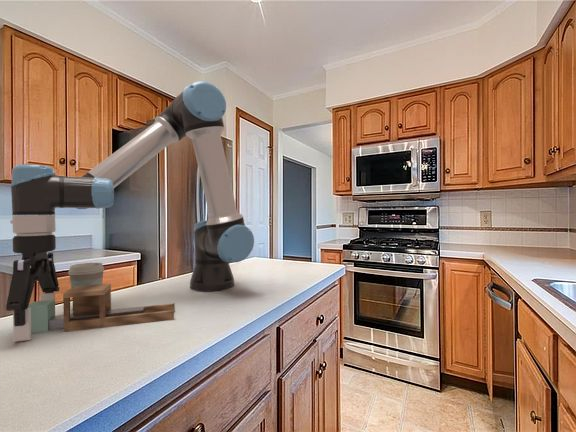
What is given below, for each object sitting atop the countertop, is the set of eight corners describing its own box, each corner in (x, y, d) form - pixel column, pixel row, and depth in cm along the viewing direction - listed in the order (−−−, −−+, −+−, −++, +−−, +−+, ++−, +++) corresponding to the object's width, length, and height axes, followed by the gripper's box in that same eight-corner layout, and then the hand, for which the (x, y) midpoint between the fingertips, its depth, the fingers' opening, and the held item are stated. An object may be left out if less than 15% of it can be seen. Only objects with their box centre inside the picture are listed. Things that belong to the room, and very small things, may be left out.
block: (55, 325, 74) (54, 299, 74) (47, 331, 70) (47, 304, 70) (33, 327, 73) (33, 301, 72) (25, 334, 69) (24, 306, 68)
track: (174, 310, 84) (174, 279, 83) (174, 319, 77) (173, 284, 77) (74, 321, 76) (73, 286, 76) (63, 331, 70) (63, 293, 70)
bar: (144, 317, 80) (144, 306, 80) (143, 321, 77) (143, 309, 77) (54, 327, 73) (54, 315, 73) (49, 332, 70) (49, 320, 70)
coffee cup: (87, 313, 82) (86, 268, 82) (60, 312, 84) (59, 267, 83) (112, 304, 90) (111, 262, 90) (87, 302, 92) (86, 262, 92)
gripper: (38, 231, 81) (40, 314, 81) (-20, 239, 58) (-18, 354, 58) (72, 230, 83) (73, 310, 84) (29, 238, 60) (31, 348, 60)
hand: (36, 329), depth 71 cm, fingers open, 12 cm apart
